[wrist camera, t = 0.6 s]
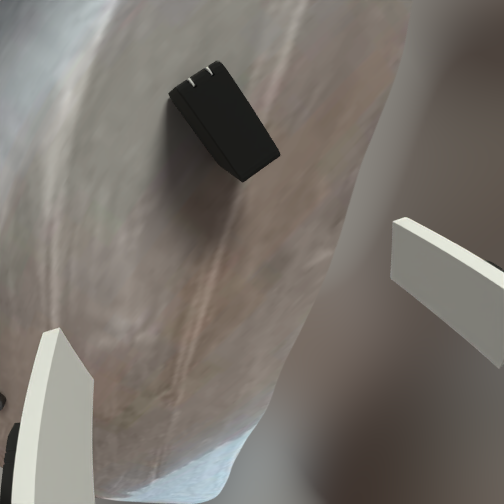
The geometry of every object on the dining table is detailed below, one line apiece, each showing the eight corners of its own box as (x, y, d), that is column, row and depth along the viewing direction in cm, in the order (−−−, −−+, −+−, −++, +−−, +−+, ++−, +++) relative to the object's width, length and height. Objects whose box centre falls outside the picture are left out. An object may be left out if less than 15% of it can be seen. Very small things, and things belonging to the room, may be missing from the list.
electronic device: (218, 165, 35) (244, 185, 27) (167, 94, 30) (175, 87, 22) (248, 144, 35) (284, 157, 27) (199, 72, 30) (220, 58, 22)
